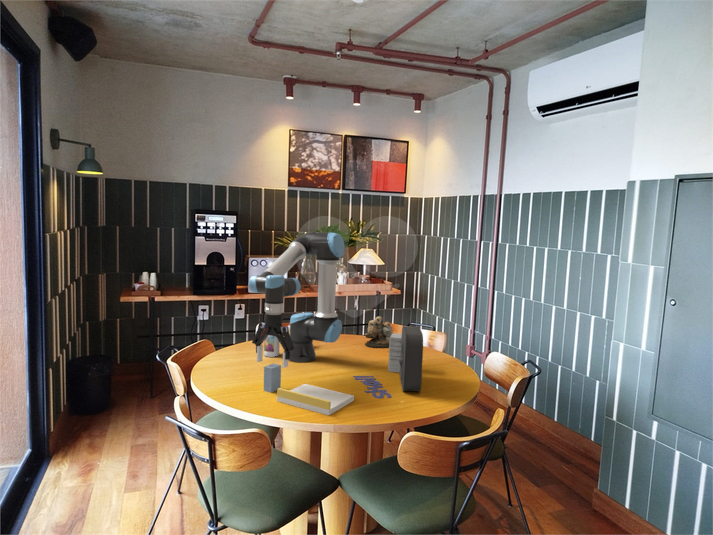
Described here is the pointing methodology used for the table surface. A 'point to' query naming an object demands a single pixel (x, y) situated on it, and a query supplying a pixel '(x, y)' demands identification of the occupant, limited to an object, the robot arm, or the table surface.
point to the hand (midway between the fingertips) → (272, 364)
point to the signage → (375, 384)
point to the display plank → (314, 398)
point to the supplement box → (394, 352)
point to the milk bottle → (271, 346)
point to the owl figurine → (378, 333)
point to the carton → (272, 377)
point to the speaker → (411, 358)
